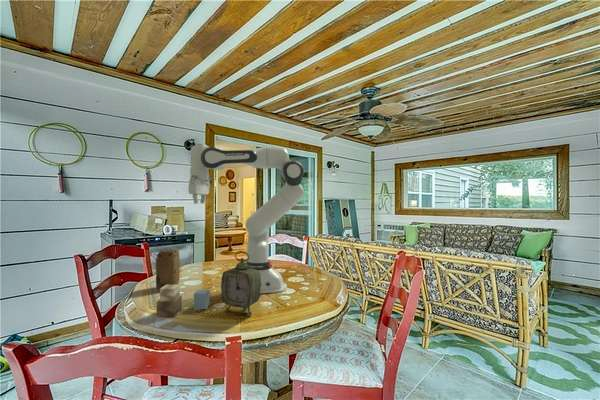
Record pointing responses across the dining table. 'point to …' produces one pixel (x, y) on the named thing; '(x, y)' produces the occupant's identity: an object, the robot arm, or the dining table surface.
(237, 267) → the tabletop clock
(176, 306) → the walnut base block
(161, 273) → the block
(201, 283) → the dining table surface
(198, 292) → the slate block
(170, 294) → the maple top block
